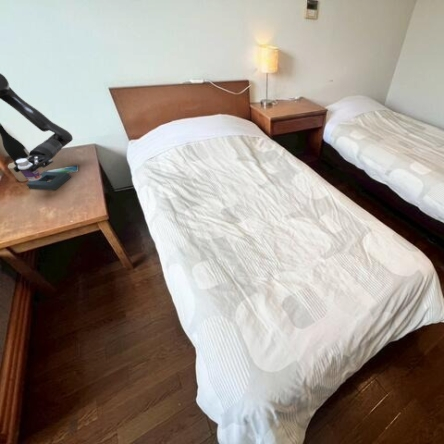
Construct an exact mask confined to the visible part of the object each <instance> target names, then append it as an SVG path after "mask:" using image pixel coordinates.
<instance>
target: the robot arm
mask: <svg viewBox="0 0 444 444" xmlns="http://www.w3.org/2000/svg"><path fill="white" fill-rule="evenodd" d="M0 100H2V101H3V102H4V103H6V104H7V105H8V106H10V107H11V108H13V109H14V110H15V111H16V112H18V113H19V114H20V115H21V116H22V117H24V118H25V119H26V120H27V121H28V122H30V123H31V124H32V125H33V126H35V128H37V129H38V130H40V132H44V133H45V132H49V131H50V132H52V133H53V134H52V135H51V136H49V137H48V138H46V139H45V140H44V141H43V142H41V143H39V144H38V145H37V146H35V147H34V148H32V149H31V150H30V151H29V156H28V157H26V158H25V159H27V160H28V161H29V162H30V163H32V164H33V165H32V166H31V167H29V170H30V171H31V172H34V171H36V170H38V169H41V168H42V169H44V168H47V167H49V166H50V165H51V164H52V163H54V160H53V159H54V158H55V157H56V155H57V154H59V153H60V151H62V149H63V148H64V147H65V146H67V145H68V144H70V143H71V142H72V141H73V140H74V137H73V134H71V132H69V131H68V130H66V129H65V128H63V127H62V126H60V125H58V124H56V123H55V122H53V121H52V120H50V119H49V118H48V117H47V116H46V115H45V114H43V113H42V112H41V111H39V110H38V109H37V108H35V107H33V106H32V105H31V104H29V103H28V102H27V101H25V100H24V99H23V98H22V97H20V96H19V95H18V94H17V92H15V91H14V90H13V89H12V88H11V87H10V83H9V81H8V79H7V77H6V76H5V75H3V73H0ZM19 159H24V158H21V157H18V158H17V159H16V161H17V160H19ZM16 161H15V162H14V161H13V162H14V164H15V165H16V166H15V167H14V168H13V169H14V170H15V171H16V172H19V171H20V170H19V168H18V164H17V163H16Z"/></svg>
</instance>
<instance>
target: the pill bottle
mask: <svg viewBox="0 0 444 444" xmlns="http://www.w3.org/2000/svg"><path fill="white" fill-rule="evenodd" d="M16 163H17V164H18V168H19V170H20V171H21V172H22V174H23V175H24V176H25V177H26V179H27V180H28V182H30V181H35V180H38V179H40V178H41V175H40V174H41V173H40V171H39V170H38V169H37V170H36V171H34V172H31V171H30V170H29V167H31V166H32V165H33V164H32V163H30V162H29V161H28V160H27V159H25V158H24V159H19V160H17V161H16Z"/></svg>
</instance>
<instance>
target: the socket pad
mask: <svg viewBox="0 0 444 444" xmlns="http://www.w3.org/2000/svg"><path fill="white" fill-rule="evenodd" d="M40 175H41V178H40V179H38V180H35V181H28V182H27V183H25V185H26V187H28V189H30V190H43V191H46V190H47V191H56V190H58V188H60V187H61V186H62V185H64V184H65V183H67V181H68V180H70V179H71V178H72V177H71V174H69V173H63V172H47V170H45V171H42V172H41V173H40Z"/></svg>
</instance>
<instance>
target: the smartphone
mask: <svg viewBox="0 0 444 444" xmlns="http://www.w3.org/2000/svg"><path fill="white" fill-rule="evenodd" d="M46 171H47V172H63V173H76V172H78V171H79V165H72V166H66V167H60V168H54V169H49V170H46Z"/></svg>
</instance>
